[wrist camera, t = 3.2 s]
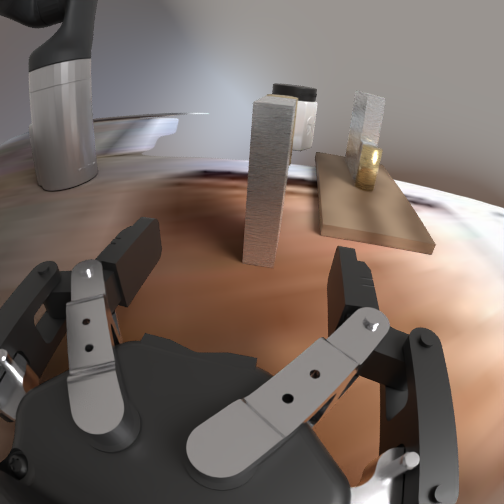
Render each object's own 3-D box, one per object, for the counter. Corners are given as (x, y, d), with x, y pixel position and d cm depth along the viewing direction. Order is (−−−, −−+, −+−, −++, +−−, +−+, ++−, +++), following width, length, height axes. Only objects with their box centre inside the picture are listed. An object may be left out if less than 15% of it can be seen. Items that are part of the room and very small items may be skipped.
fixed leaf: (355, 189, 35) (373, 96, 28) (343, 159, 46) (354, 90, 39) (375, 193, 34) (394, 101, 28) (358, 161, 46) (370, 93, 39)
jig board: (320, 235, 27) (323, 224, 26) (315, 158, 48) (316, 151, 48) (431, 254, 26) (435, 244, 25) (380, 171, 47) (382, 164, 46)
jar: (295, 153, 50) (303, 88, 43) (258, 143, 53) (263, 82, 46) (317, 146, 56) (325, 89, 49) (283, 138, 59) (288, 84, 52)
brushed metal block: (274, 268, 23) (295, 106, 16) (241, 263, 23) (251, 101, 16) (283, 217, 30) (298, 97, 23) (258, 213, 30) (268, 93, 23)
